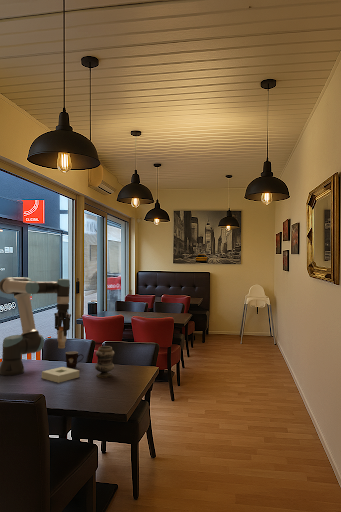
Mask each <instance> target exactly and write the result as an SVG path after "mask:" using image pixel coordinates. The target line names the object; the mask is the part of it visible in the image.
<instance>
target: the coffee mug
mask: <svg viewBox="0 0 341 512" xmlns="http://www.w3.org/2000/svg"><path fill="white" fill-rule="evenodd" d="M80 356H82V358H81V359H80V360H78V358H79V357H80ZM84 357H85V356H84V355H83V354H81V353H80V354H79V352H78V351H67V352H65V362H66V363H65V365H66V368H71V369H75V367H76V368H77V364H78V363H80V362H81V361H83V359H84Z"/></svg>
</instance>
